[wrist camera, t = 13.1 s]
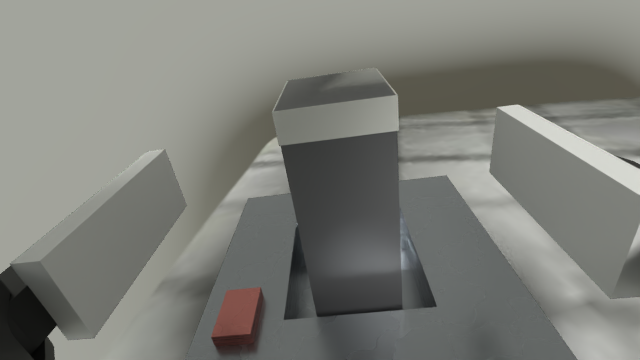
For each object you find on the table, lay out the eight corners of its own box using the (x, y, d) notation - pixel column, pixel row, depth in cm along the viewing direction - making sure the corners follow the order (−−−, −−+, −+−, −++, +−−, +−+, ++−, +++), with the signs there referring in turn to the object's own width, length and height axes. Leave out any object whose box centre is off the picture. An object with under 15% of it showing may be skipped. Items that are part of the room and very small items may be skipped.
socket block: (444, 211, 24) (446, 167, 22) (572, 432, 12) (598, 370, 10) (257, 231, 25) (246, 191, 23) (192, 452, 13) (158, 401, 11)
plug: (386, 253, 20) (375, 67, 15) (404, 325, 16) (397, 94, 10) (320, 260, 20) (287, 80, 15) (318, 332, 16) (271, 112, 11)
